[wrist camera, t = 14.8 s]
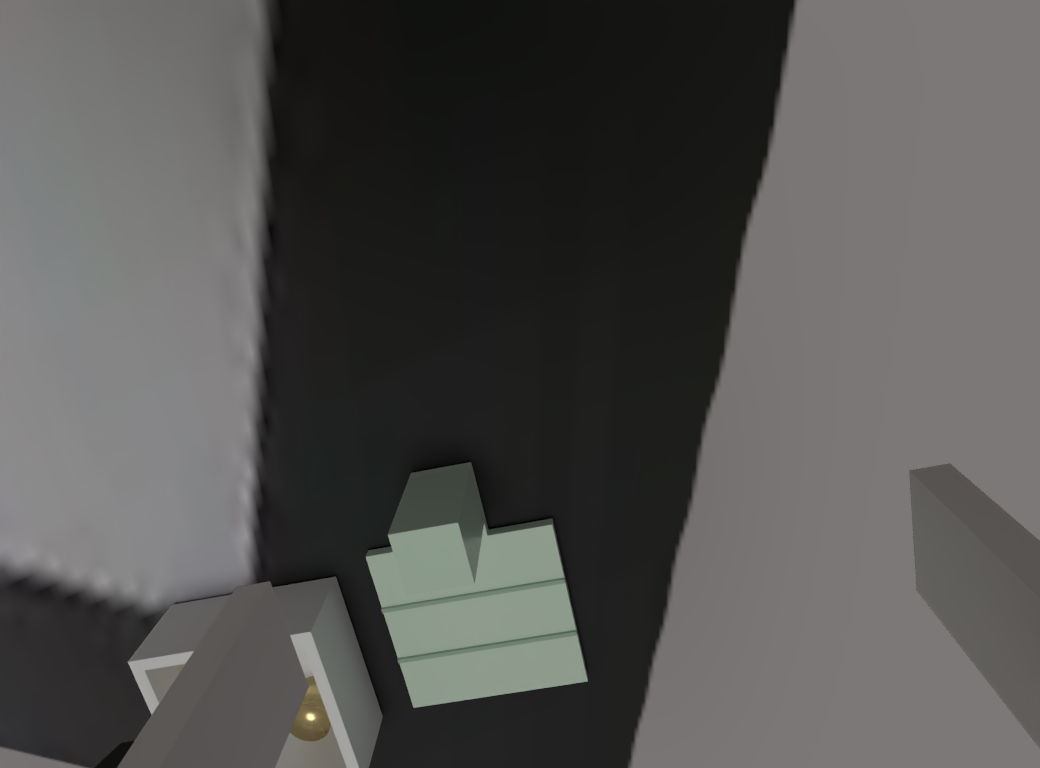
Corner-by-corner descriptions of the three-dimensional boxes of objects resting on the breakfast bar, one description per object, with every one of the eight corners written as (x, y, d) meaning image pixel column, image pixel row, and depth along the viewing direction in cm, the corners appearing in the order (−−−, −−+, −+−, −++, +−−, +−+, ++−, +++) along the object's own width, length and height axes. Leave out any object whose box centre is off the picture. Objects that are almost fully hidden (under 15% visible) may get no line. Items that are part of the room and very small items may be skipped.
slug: (293, 678, 55) (279, 709, 52) (334, 672, 55) (322, 702, 52) (306, 712, 56) (293, 744, 53) (346, 706, 56) (335, 737, 53)
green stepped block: (347, 484, 51) (313, 547, 43) (536, 449, 50) (534, 509, 42) (415, 699, 56) (395, 788, 49) (587, 673, 55) (593, 760, 48)
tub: (171, 604, 54) (127, 662, 49) (335, 576, 53) (310, 631, 47) (228, 739, 58) (193, 807, 52) (382, 716, 57) (364, 782, 51)
